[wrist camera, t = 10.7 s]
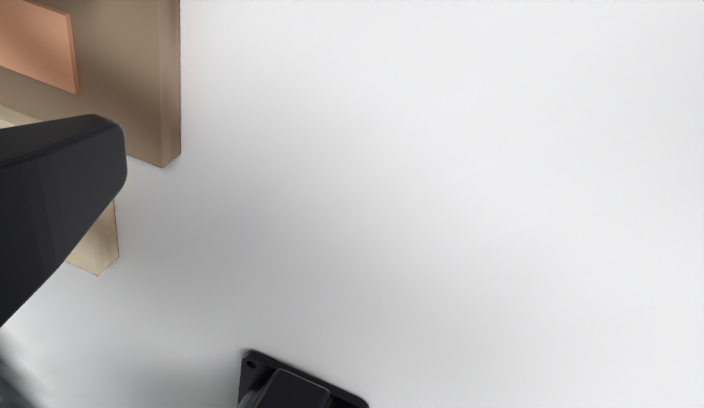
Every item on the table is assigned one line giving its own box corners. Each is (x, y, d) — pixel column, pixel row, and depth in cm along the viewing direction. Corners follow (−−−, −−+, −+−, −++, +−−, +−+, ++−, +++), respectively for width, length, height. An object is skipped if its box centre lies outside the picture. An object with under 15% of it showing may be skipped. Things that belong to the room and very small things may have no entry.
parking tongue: (118, 256, 29) (97, 275, 28) (2, 205, 30) (-24, 221, 29) (107, 134, 24) (81, 151, 23) (-29, 81, 26) (-60, 94, 25)
